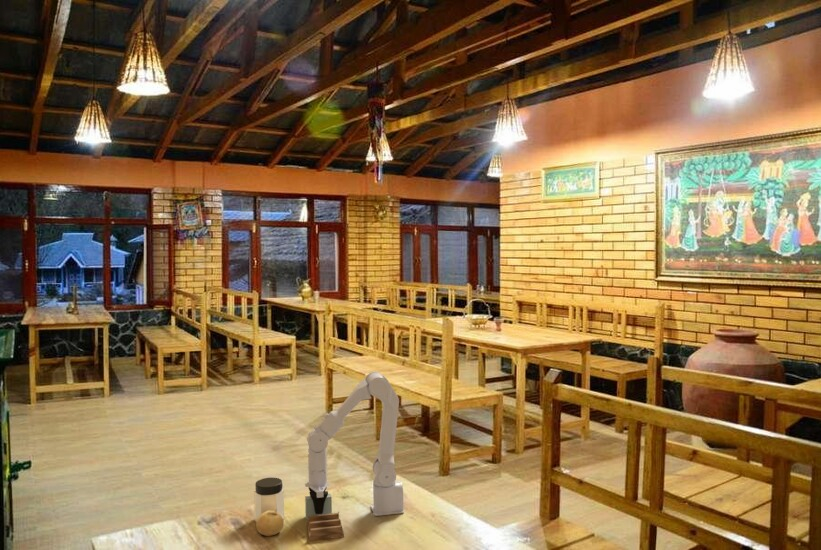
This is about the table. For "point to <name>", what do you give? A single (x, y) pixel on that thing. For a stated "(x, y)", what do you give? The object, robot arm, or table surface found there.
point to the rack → (324, 526)
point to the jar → (269, 496)
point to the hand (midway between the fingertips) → (318, 511)
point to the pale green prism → (310, 506)
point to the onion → (269, 523)
